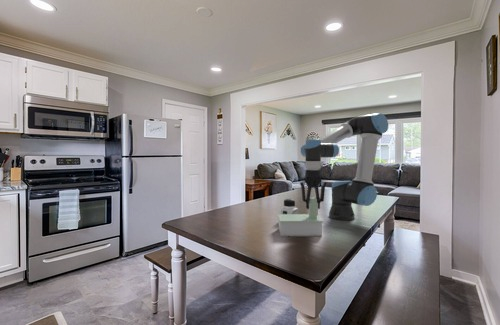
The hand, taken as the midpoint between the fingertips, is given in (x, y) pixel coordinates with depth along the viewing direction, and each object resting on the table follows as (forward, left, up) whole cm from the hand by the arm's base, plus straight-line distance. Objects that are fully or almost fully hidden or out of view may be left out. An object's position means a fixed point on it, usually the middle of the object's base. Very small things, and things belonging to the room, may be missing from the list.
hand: (312, 215), depth 125 cm
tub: (+7, 0, -9) cm, 11 cm away
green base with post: (+7, 0, -2) cm, 7 cm away
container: (+9, -21, -9) cm, 25 cm away
